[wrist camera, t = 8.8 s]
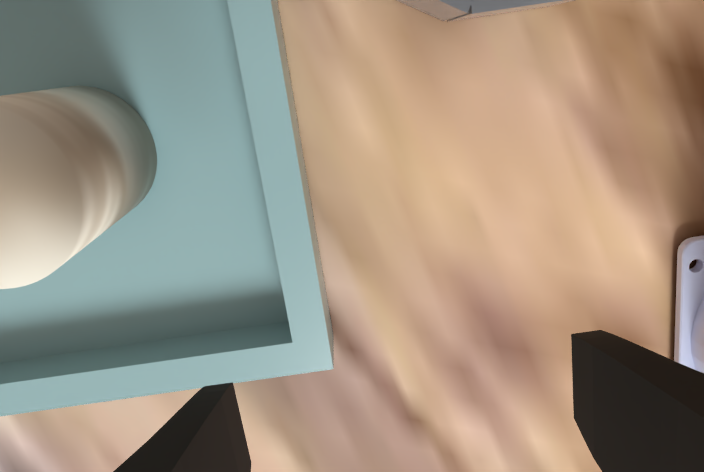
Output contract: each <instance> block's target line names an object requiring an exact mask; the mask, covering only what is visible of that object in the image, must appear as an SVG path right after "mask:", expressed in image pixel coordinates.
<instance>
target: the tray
mask: <svg viewBox="0 0 704 472" xmlns="http://www.w3.org/2000/svg"><path fill="white" fill-rule="evenodd" d="M69 86H89V87H95V88H99V89H102V90H105V91H108V92H110V93H112V94H114V95H116V96H118V97H119V98H121V99H123V100H124V101H125V102H127V103H128V104H129V105H130V106H132V107H133V108H134V109H135V110H136V111H137V112H138V114H139V115H140V116H141V117H142V119H143V120H144V122H145V123H146V125H147V126H148V128H149V130H150V132H151V135H152V137H153V140H154V143H155V147H156V153H157V170H156V175H155V179H154V182H153V184H152V187H151V189H150V191H149V192H148V194H147V195H146V197H145V198H144V199H143V200H142V201H141V202H140V203H139V204H138V205H137V206H136V207H135V208H134V209H132V210H131V211H130V212H128V213H127V214H126V215H125V216H123V217H122V218H121V219H120V220H118V221H117V222H116V223H115V224H113V225H112V226H111V227H110V228H108V229H107V230H106V231H104V232H103V233H102V234H101V235H99V236H98V237H97V238H96V239H94V240H93V241H92V242H91V243H89V244H88V245H87V246H86V247H84V248H83V249H82V250H81V251H79V252H78V253H77V254H75V255H74V256H73V257H72V258H70V259H69V260H68V261H67V262H65V263H64V264H63V265H62V266H60V267H59V268H58V269H57V270H55V271H54V272H52V273H51V274H50V275H48V276H47V277H45V278H43V279H41V280H39V281H37V282H35V283H32V284H29V285H26V286H22V287H17V288H9V289H0V416H6V415H13V414H20V413H27V412H34V411H41V410H48V409H55V408H62V407H69V406H77V405H84V404H91V403H98V402H105V401H112V400H119V399H126V398H133V397H140V396H147V395H154V394H161V393H168V392H175V391H182V390H189V389H196V388H203V387H204V386H210V385H217V384H224V383H231V382H233V383H239V382H246V381H253V380H260V379H267V378H274V377H281V376H288V375H295V374H302V373H309V372H316V371H323V370H330V369H333V330H332V324H331V318H330V312H329V306H328V300H327V294H326V288H325V282H324V276H323V270H322V264H321V258H320V252H319V246H318V240H317V234H316V228H315V222H314V216H313V210H312V204H311V198H310V192H309V186H308V180H307V174H306V168H305V162H304V156H303V150H302V144H301V138H300V132H299V126H298V120H297V115H296V109H295V103H294V97H293V91H292V85H291V79H290V73H289V67H288V61H287V55H286V49H285V43H284V37H283V31H282V25H281V19H280V13H279V7H278V1H277V0H0V96H2V95H10V94H17V93H25V92H32V91H39V90H47V89H54V88H61V87H69Z"/></svg>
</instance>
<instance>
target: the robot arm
mask: <svg viewBox="0 0 704 472" xmlns="http://www.w3.org/2000/svg"><path fill="white" fill-rule="evenodd" d="M695 259H696V260H697V263H696V265H695V266H694V267H693V268H691V269H689V265H690V263H691V262H692V261H693V260H695ZM571 337H572V370H573V404H574V419H575V421H576V423H577V425H578V427H579V429H580V431H581V434H582V436H583V438H584V440H585V442H586V444H587V446H588V448H589V450H590V452H591V454H592V456H593V458H594V459H595V461H596V463H597V464H598V466H599V467H600V469H601V470H602V472H704V235H703V236H696V237H691V238H688V239H685V240H684V241H683V242H682V243H681V244H680V246H679V247H678V252H677V282H676V315H675V349H674V361H673V360H671V359H668V358H666V357H664V356H662V355H659V354H657V353H655V352H653V351H650V350H648V349H646V348H644V347H641V346H639V345H637V344H634V343H632V342H630V341H628V340H625V339H623V338H621V337H618V336H616V335H613V334H611V333H608V332H605V331H602V330H597V331H590V332H583V333H576V334H571ZM114 472H251V460H250V455H249V451H248V447H247V442H246V438H245V434H244V429H243V425H242V421H241V416H240V412H239V408H238V403H237V399H236V395H235V390H234V386H233V382H231V383H224V384H217V385H210V386H204V387H203V388H202V389H201V390H199V391H198V392H197V393H196V394H195V395H194V396H193V397H192V398H191V399H190V400H189V401H188V402H187V403H186V404H185V405H184V406H183V407H182V408H181V409H180V410H179V411H178V412H177V413H176V414H175V415H174V416H173V417H172V418H171V419H170V420H169V421H168V422H167V423H166V424H165V425H164V426H163V427H162V428H161V429H159V430H158V431H157V432H156V433H155V434H154V435H153V436H152V437H151V438H150V439H149V440H148V441H147V442H146V443H145V444H144V445H143V446H142V447H140V448H139V449H138V450H137V451H136V452H135V453H134V454H133V455H132V456H130V457H129V458H128V459H127V460H126V461H125V462H124V463H123V464H121V465H120V466H119V467H118V468H117V469H116V470H115V471H114Z"/></svg>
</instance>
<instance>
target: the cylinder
mask: <svg viewBox="0 0 704 472" xmlns="http://www.w3.org/2000/svg"><path fill="white" fill-rule="evenodd" d="M156 170H157V153H156V147H155V143H154V140H153V137H152V135H151V132H150V130H149V128H148V126H147V125H146V123H145V122H144V120H143V119H142V117H141V116H140V115H139V114H138V112H137V111H136V110H135V109H134V108H133V107H132V106H130V105H129V104H128V103H127V102H125V101H124V100H123V99H121V98H119V97H118V96H116V95H114V94H112V93H110V92H108V91H105V90H102V89H99V88H95V87H89V86H69V87H61V88H54V89H47V90H39V91H32V92H25V93H17V94H10V95H2V96H0V289H9V288H17V287H22V286H26V285H29V284H32V283H35V282H37V281H39V280H41V279H43V278H45V277H47V276H48V275H50V274H51V273H52V272H54V271H55V270H57V269H58V268H59V267H60V266H62V265H63V264H64V263H65V262H67V261H68V260H69V259H70V258H72V257H73V256H74V255H75V254H77V253H78V252H79V251H81V250H82V249H83V248H84V247H86V246H87V245H88V244H89V243H91V242H92V241H93V240H94V239H96V238H97V237H98V236H99V235H101V234H102V233H103V232H104V231H106V230H107V229H108V228H110V227H111V226H112V225H113V224H115V223H116V222H117V221H118V220H120V219H121V218H122V217H123V216H125V215H126V214H127V213H128V212H130V211H131V210H132V209H134V208H135V207H136V206H137V205H138V204H139V203H140V202H141V201H142V200H143V199H144V198H145V197H146V195H147V194H148V192H149V191H150V189H151V187H152V184H153V182H154V179H155V175H156Z"/></svg>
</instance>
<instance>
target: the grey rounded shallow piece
mask: <svg viewBox="0 0 704 472" xmlns="http://www.w3.org/2000/svg"><path fill="white" fill-rule="evenodd" d="M397 1H399V2H401V3H404V4H406V5H408V6H410V7H413V8H415V9H417V10H419V11H422V12H424V13H426V14H429V15H431V16H433V17H435V18H438V19H440V20H442V21H445V20H447V22H448V21H455V20H461V19H468V18H475V17H482V16H488V15H495V14H502V13H509V12H516V11H522V10H529V9H536V8H543V7H549V6H553V5H557V4H561V3H566V2H570V1H574V0H397Z"/></svg>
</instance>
